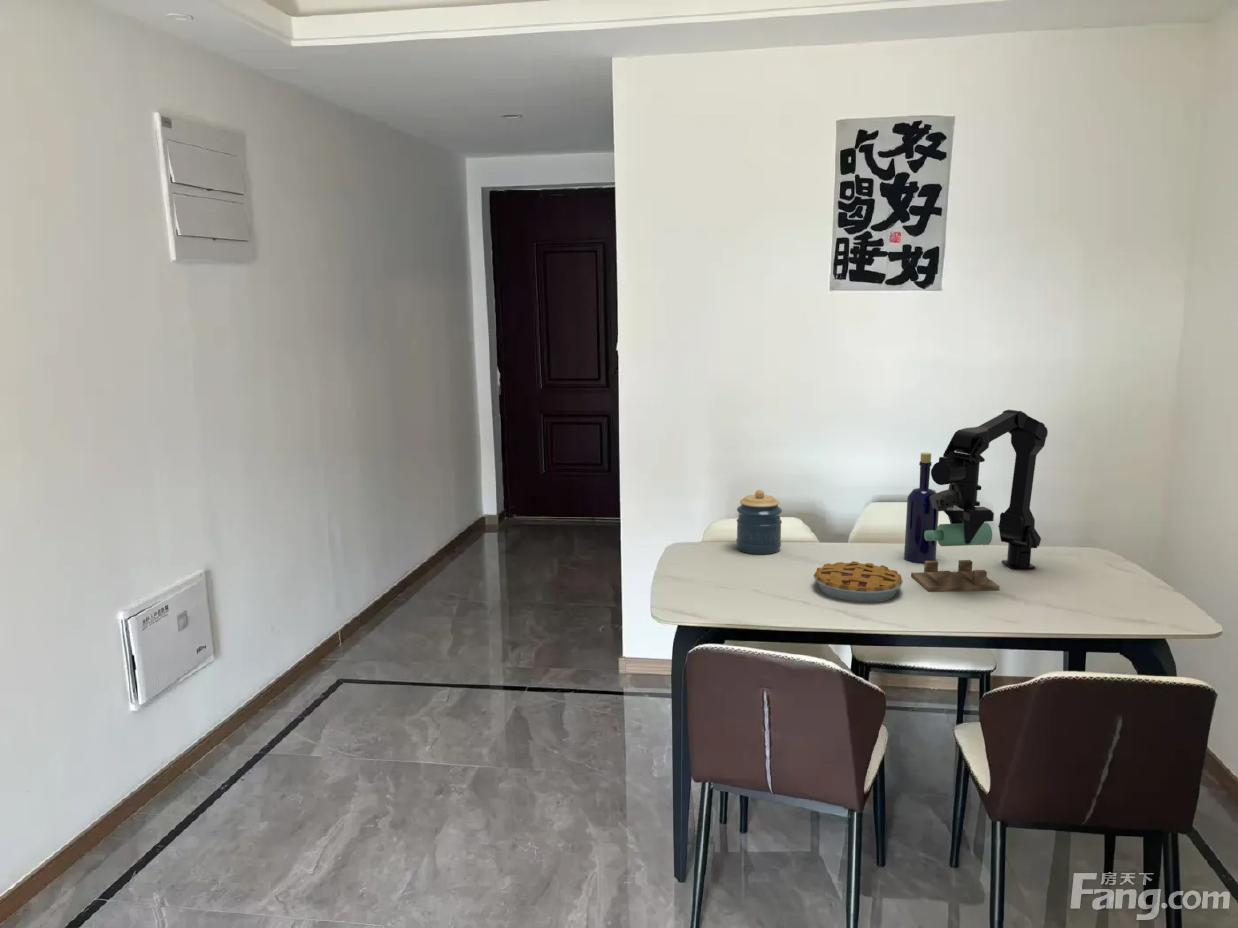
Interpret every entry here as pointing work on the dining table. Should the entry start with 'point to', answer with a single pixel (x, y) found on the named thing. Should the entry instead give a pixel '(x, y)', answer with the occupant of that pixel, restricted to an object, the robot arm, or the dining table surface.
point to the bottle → (921, 518)
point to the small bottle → (958, 535)
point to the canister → (759, 524)
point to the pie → (858, 581)
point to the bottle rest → (954, 578)
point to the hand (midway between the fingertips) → (961, 540)
